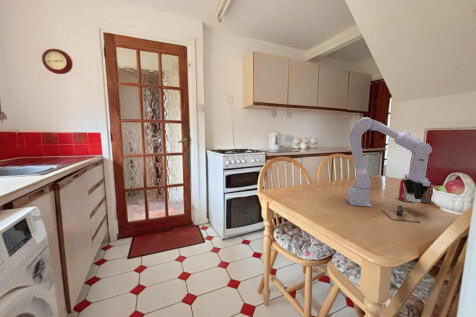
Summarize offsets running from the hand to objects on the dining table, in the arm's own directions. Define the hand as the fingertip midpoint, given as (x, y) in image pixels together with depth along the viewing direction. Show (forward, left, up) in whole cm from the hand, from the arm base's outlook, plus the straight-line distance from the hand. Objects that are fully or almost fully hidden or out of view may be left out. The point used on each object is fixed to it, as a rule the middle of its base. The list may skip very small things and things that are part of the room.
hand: (413, 197), depth 89 cm
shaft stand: (-9, -8, -7) cm, 14 cm away
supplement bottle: (+14, +17, -7) cm, 23 cm away
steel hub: (0, 0, -2) cm, 2 cm away
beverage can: (+6, +17, -7) cm, 19 cm away
